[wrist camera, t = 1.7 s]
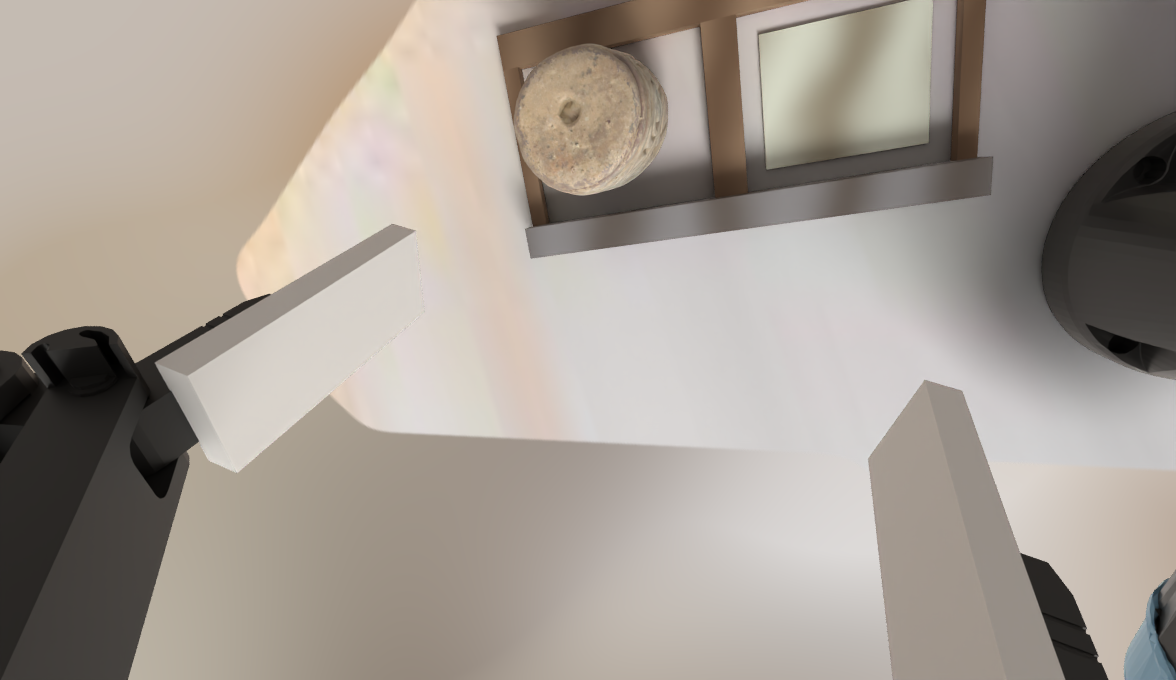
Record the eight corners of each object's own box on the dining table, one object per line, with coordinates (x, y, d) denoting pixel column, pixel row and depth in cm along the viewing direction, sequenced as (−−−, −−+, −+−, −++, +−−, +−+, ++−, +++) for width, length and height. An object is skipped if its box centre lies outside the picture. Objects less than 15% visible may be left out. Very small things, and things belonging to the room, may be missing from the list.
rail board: (983, -87, 26) (1010, -112, 24) (968, 192, 30) (990, 194, 28) (501, 38, 33) (486, 29, 30) (541, 252, 37) (530, 258, 34)
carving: (551, 160, 34) (479, 155, 23) (606, 50, 32) (554, -15, 21) (629, 209, 34) (593, 228, 23) (692, 104, 32) (685, 68, 20)
